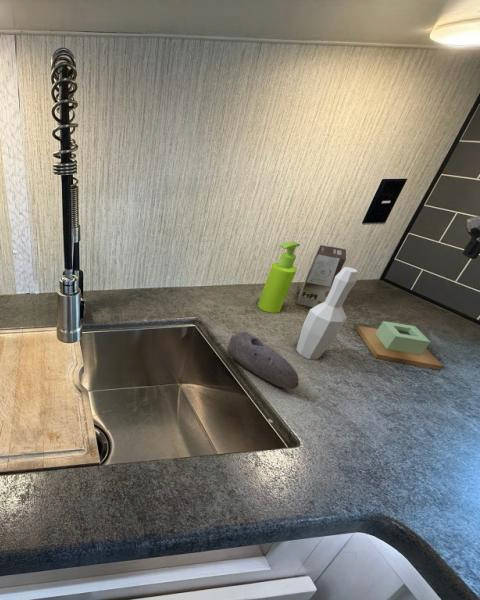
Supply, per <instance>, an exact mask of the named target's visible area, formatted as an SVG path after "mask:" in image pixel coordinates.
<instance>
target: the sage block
mask: <svg viewBox="0 0 480 600" xmlns="http://www.w3.org/2000/svg"><path fill="white" fill-rule="evenodd" d="M377 329H378V330H377V332H376V333H375V334H376V336H377V337H378V338H379V340H380V341H381V342H382V344H383V345H384V346H385V348H386V349H388V350H393V351H399V352H404V353H410V354H416V355H421V354H422V353H423V351H424V350H425V349H426V348H427V347H428V346H429V345H430V343H431V341H430V340H429V339H428V337H426V336H425V335H424V334H423V332H421V330H420V329H418V328H417V326H415V325H410V324H404V323H398V322H391V321H386V320H383V321H382V322H381V324H380V325H379V327H378V328H377ZM398 330H399V331H405V332H408V333H409V334H410V335H405V334H400V333H399V332H398Z"/></svg>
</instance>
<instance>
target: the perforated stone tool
mask: <svg viewBox="0 0 480 600" xmlns="http://www.w3.org/2000/svg"><path fill="white" fill-rule="evenodd" d="M230 336H231V337H230V339H229V342H228V344H227V349H226V351H227V354H228V355H229V356H230V357H231V358H232V359H233V360H234V361H236V362H237V363H238V364H239V365H240V366H241V367H243V368H244V369H246V370H248V371H250V372H251V373H253V374H254V375H256V376H258V377H260V378H261V379H263V380H265V381H267V382H268V383H270V384H272V385H274V386H276V387H280V388H282V389H286V390H294V389H297V388H298V387H299V386H300V385H299V374H298V372H297V371H296V370H295V368H294V367H293V366H292V364H291V363H290V362H288V360H287V359H286V358H284V357H283V356H282V355H281V354H280V353H278V352H277V351H276V350H275V349H274V348H272V347H271V346H270V345H268V344H267V343H265V342H264V341H262V339H259V338H258V337H256V336H254V335H252V334H250V333H249V332H247V331H243V332H237V333H236V334H235V333H234V334H233V335H230Z"/></svg>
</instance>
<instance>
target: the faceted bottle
mask: <svg viewBox="0 0 480 600" xmlns="http://www.w3.org/2000/svg"><path fill="white" fill-rule="evenodd" d="M358 274H359V271H358V270H357V269H355V268H353V267H349V266H344V267H342V269H341V271H340V272H339V273H338V274H337V275H336V276H335V279H334V282H333V285H332V287H331V290H330V292H329V294H328V296H327V298H326V300H325V302H323V303H321V304H319V305H317V306H315V307H313V308H312V307H311V308H310V309H309V311H308V314H307V316H306V318H305V320H304V322H303V324H302V327H301V331H300V334H299V338H298V342H297V344H296V349H295V351H297V353H298V354H299V355H300V356H302V357H303V358H305V359H308V360H318V359H320V358H321V356H322V355H323V354H324V352H325V351H326V350H327V348H328V347H329V346H330V345H331V343H332V342H333V341H334V340H335V338H336V337H337V336H338V335H339V333H340V331H341V330H342V327H343V326H344V324H345V322H346V321H347V316H346V313H345V311H344V308H343V304H344V303H345V300H346V298H347V297H348V295H349V293H350V291H351V290H352V289H353V287H354V286H355V284H356V283H357V281H358Z"/></svg>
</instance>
